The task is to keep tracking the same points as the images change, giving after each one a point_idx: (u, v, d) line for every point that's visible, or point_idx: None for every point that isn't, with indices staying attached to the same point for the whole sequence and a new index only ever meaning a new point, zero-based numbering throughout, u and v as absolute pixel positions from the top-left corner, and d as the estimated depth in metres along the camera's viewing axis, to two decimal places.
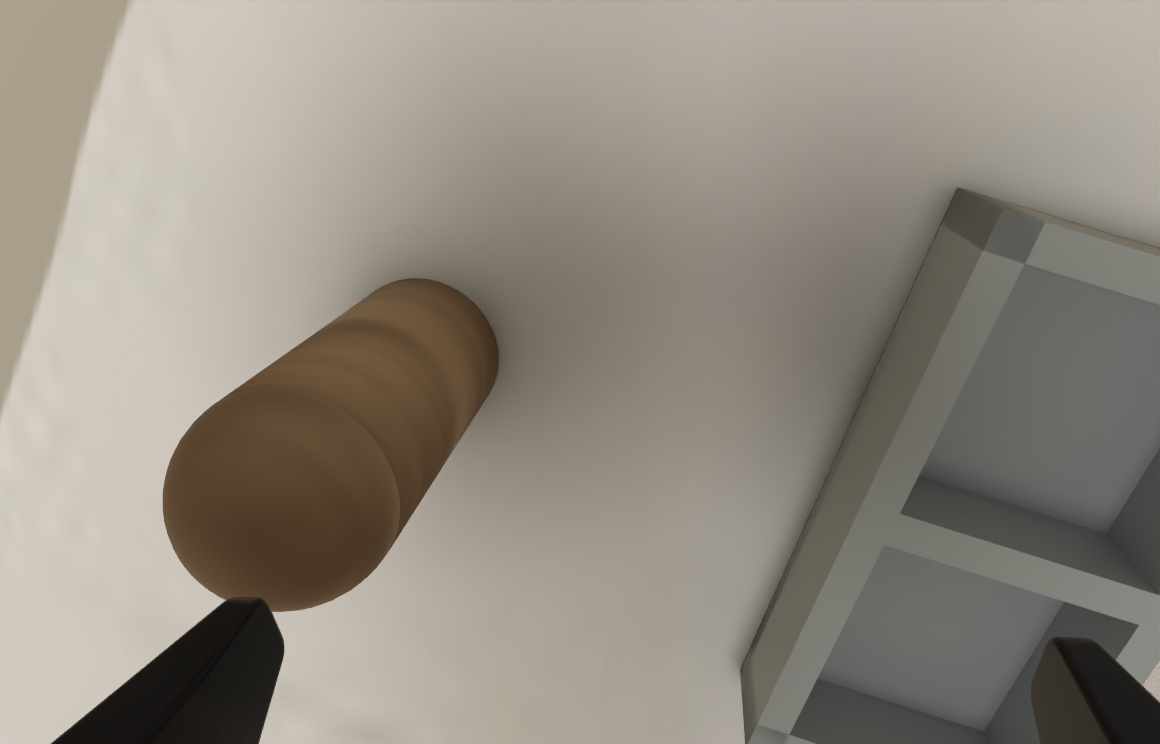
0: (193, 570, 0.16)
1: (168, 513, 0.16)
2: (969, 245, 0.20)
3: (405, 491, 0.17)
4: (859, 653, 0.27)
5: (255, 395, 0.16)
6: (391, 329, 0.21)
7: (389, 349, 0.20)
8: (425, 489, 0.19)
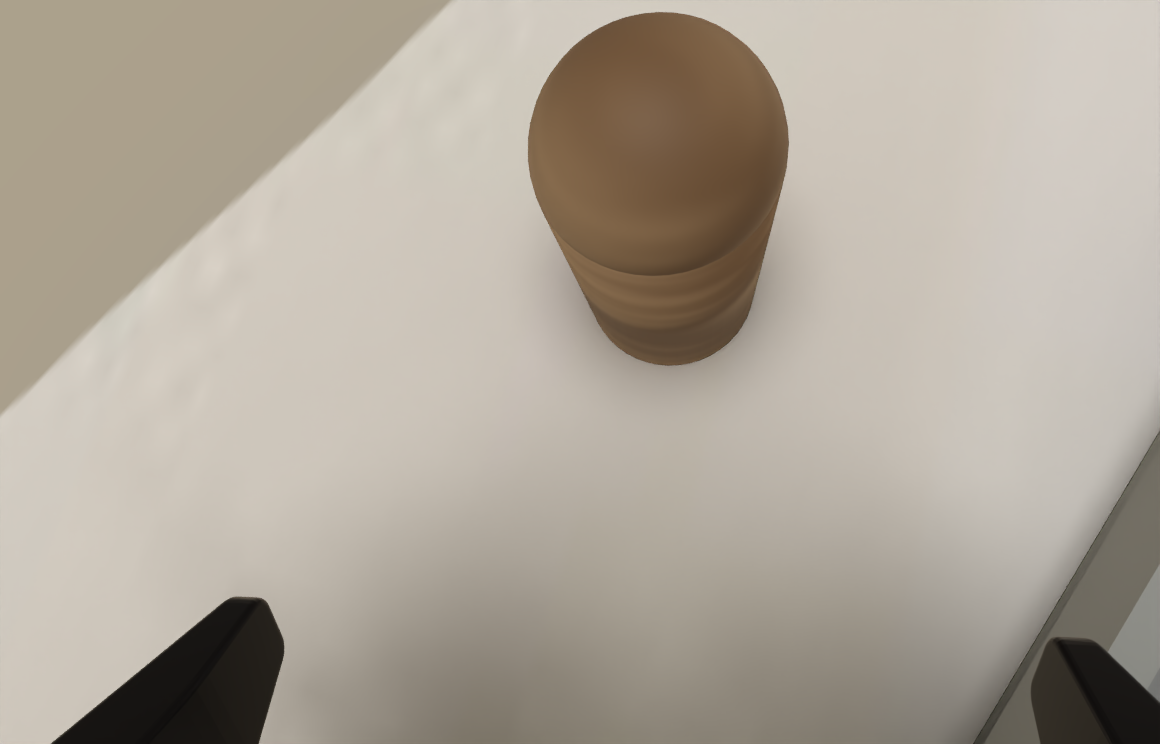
0: (580, 115, 0.13)
1: (572, 62, 0.14)
2: None
3: (779, 191, 0.15)
4: None
5: None
6: None
7: None
8: (754, 257, 0.17)
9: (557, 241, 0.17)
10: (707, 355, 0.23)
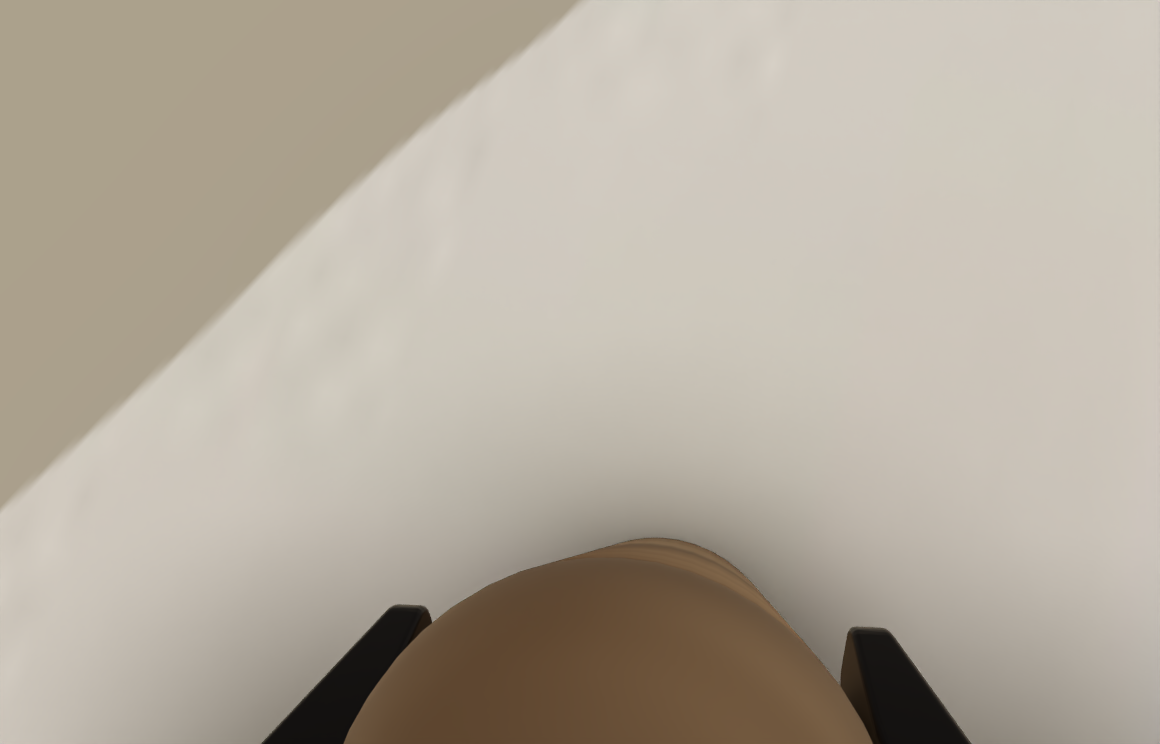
0: None
1: None
2: None
3: None
4: None
5: (656, 570, 0.07)
6: (745, 582, 0.11)
7: (772, 607, 0.10)
8: None
9: None
10: None
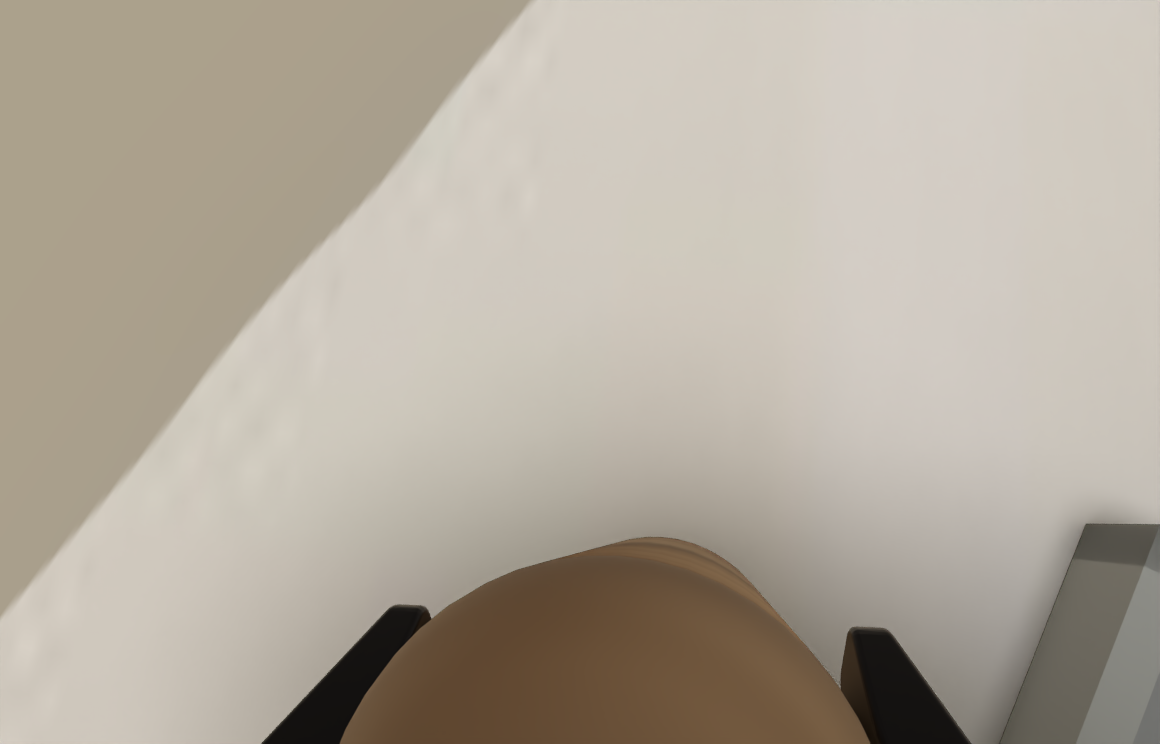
0: None
1: None
2: (1121, 566, 0.19)
3: None
4: None
5: (653, 568, 0.07)
6: (744, 580, 0.11)
7: (770, 606, 0.10)
8: None
9: None
10: None
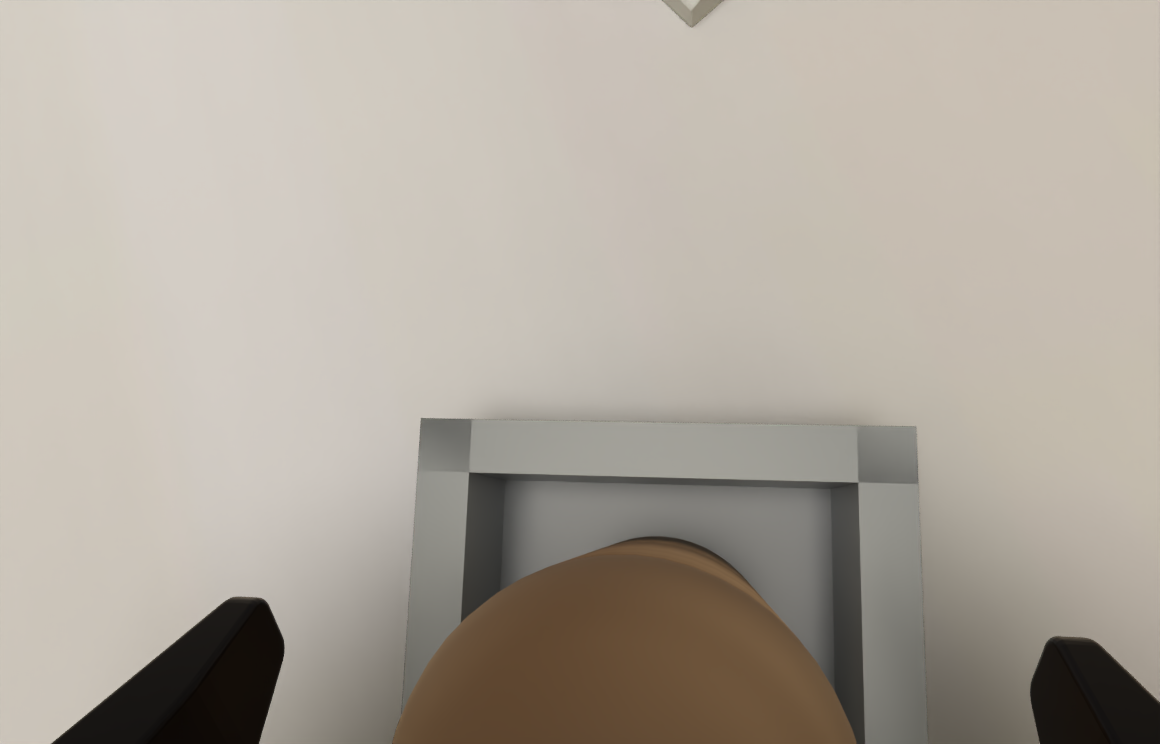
0: None
1: None
2: None
3: None
4: None
5: (663, 565, 0.08)
6: (739, 575, 0.13)
7: None
8: None
9: None
10: None
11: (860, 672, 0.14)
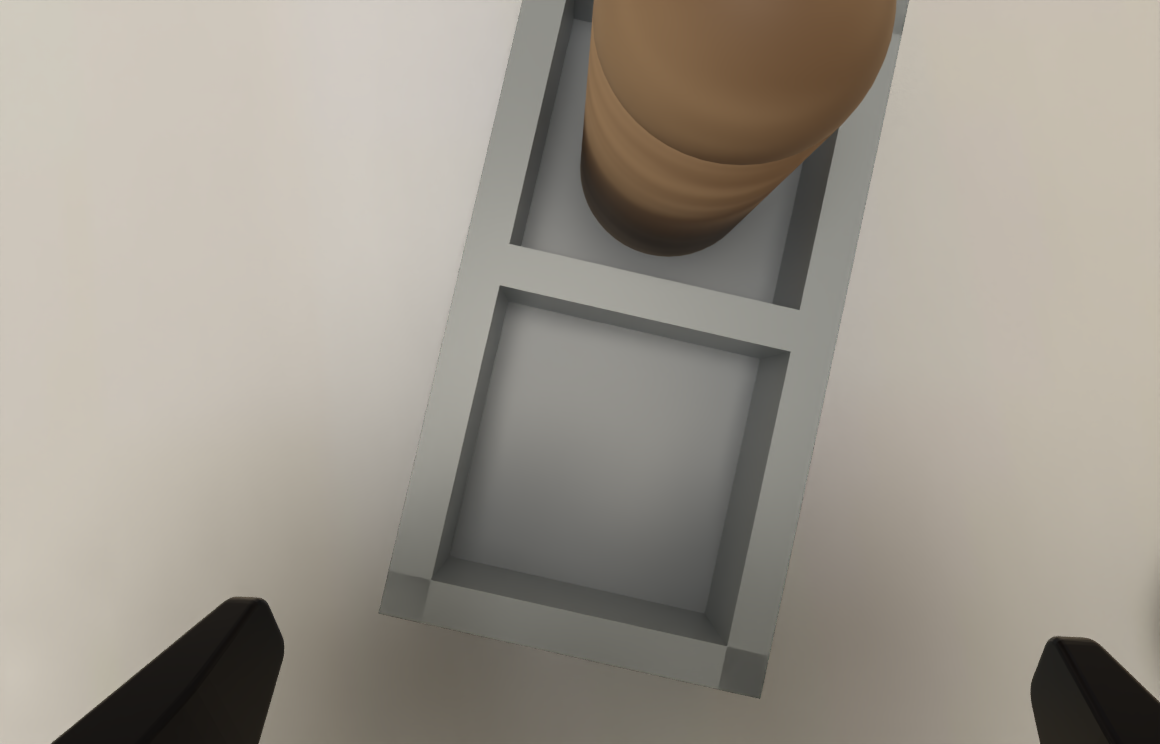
0: None
1: None
2: None
3: None
4: (540, 521, 0.22)
5: None
6: None
7: None
8: None
9: (594, 92, 0.15)
10: (689, 253, 0.22)
11: (829, 158, 0.20)
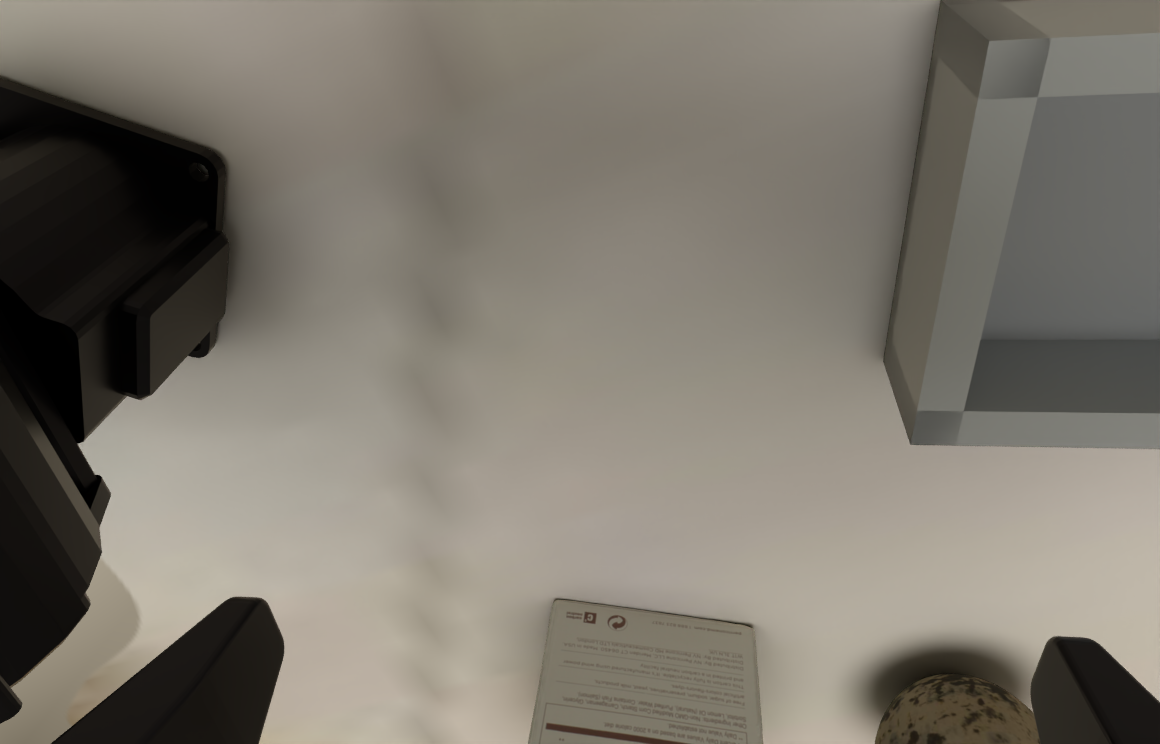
0: None
1: None
2: None
3: None
4: (1037, 153, 0.18)
5: None
6: None
7: None
8: None
9: None
10: None
11: None
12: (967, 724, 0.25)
